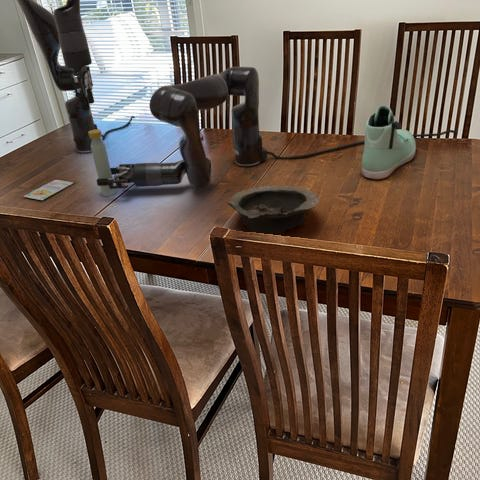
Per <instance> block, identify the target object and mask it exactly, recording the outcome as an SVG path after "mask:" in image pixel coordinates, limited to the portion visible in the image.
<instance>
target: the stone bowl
mask: <svg viewBox="0 0 480 480" xmlns="http://www.w3.org/2000/svg"><path fill="white" fill-rule="evenodd" d="M319 203H320V199H319V198H318V197H317V195H316V193H314V192H313V191H311V190H309V189H307V188H302V187H298V186H291V185H277V184H275V185H274V184H271V185H266V186H265V185H262V186H254V187H251V188H248V189H244V190H240V191H238V192H236V193H235V194H233V195H232V196H231V198H230V200H229V203H228V202H227V204H226V205H228V206H230V207H231V208H232V209H234V211H236V212H237V213H238V214H239V215H240V217H241V220H242V223H243V225H244V226H246V227H247V228H248V229H249V232H250V233H251V232H256V233H264V234H273V235H279V236H281V235H284V234H285V233H286V232H285V231H286V230H292V229H294V228H300V227H301V226H303V224H304V220H305V217H306V212H308V211H310V210H312V209H313V208H315V207H317V206H318V204H319Z"/></svg>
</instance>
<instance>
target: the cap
mask: <svg viewBox="0 0 480 480" xmlns="http://www.w3.org/2000/svg"><path fill="white" fill-rule="evenodd" d="M88 133H89V138H90V139H97V138H100V139H101V138H102V135H103V134H102V131H101V129H98V128H97V129H95V130H91V131H89V132H88Z"/></svg>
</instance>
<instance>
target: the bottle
mask: <svg viewBox="0 0 480 480" xmlns="http://www.w3.org/2000/svg"><path fill="white" fill-rule="evenodd" d="M91 150H92V152H91V155H92V158H93V159H92V160H93V163H94V167H95V171H96V175H97V179H102V178H112V177H113V175H112V174H111V169H110V168H111V165H110V161H109V157H108V152H107V147H106V144H105V143H104V141H103V140H102V139H101V137H100V138H97V139H92V142H91ZM99 188H100V191H101V195H102V196H103V197H111V196H113V195H115V194H116V189H110V188H109V185H107V186H99Z"/></svg>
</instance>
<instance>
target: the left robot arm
mask: <svg viewBox="0 0 480 480" xmlns="http://www.w3.org/2000/svg"><path fill="white" fill-rule="evenodd" d="M16 1H17V3H18V6H19V7H20V9H21V11H22V13H23V15H24V16H23V17H25V20H26V23H27V24H28V27H29V29H30V32H31V33H32V35H33V37H34V39H35V42H36V43H37V45H38V47H39V49H40V51H41V53H42V55H43V57H44V60H45V62H46V64H47V67H48V70H49V72H50V75H51V77H52V80H53V82H54V84H55V86H56V88H57V89H58V90H59V91H60V92H73V91H74V93H75V96H73V97H71V98H69V99H67V100H65V102H64V106H65V110H66V114H67V115H66V116H67V118H68V122H69V126H70V130H71V133H72V137H73V138H72V140H73V143H74V145H75V148H76V149H75V150H76V152H77V153H80V154H87V153H92V150H91V142H92V139H90V138H89V133H88V132H89V131H91V130H95V129H98V125H97V123H95V121H94V116H93V113H92V108H91V105H92V104H94V103H95V98H94V94H93V87H94V83H93V78H92V74H91V70H90V69H91V67H90V65H91V64H92V63H93V60H92V55H91V51H90V47H89V42H88V37H87V35H86V32H85V28H84V24H83V19H82V15H81V0H66V2H65V4H64V5H62V6H60V7H57V8H56V9H54V10H53V13H52V12H51V11H49V10H48V9H47V8H45V7H44V6H42V5H41V4H39V3H37V2H36V1H35V0H16ZM60 51H61V54H62V59H63V62H64V65H61V64H60V62H59V54H60ZM133 119H136V117H135V116H134V115H132V116H130V119H129V121H128V122H127V123H125V124H123V125H122V126H118V127H115V128H111V129H109V130H106V131H105V132H104V134H102V137H101V138H102V139H105V138H106V137H107V134H109V133H111V132H114V131H118V130H121V129H124V128H126V127H128V126H129V124H131V122H132V120H133Z"/></svg>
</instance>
